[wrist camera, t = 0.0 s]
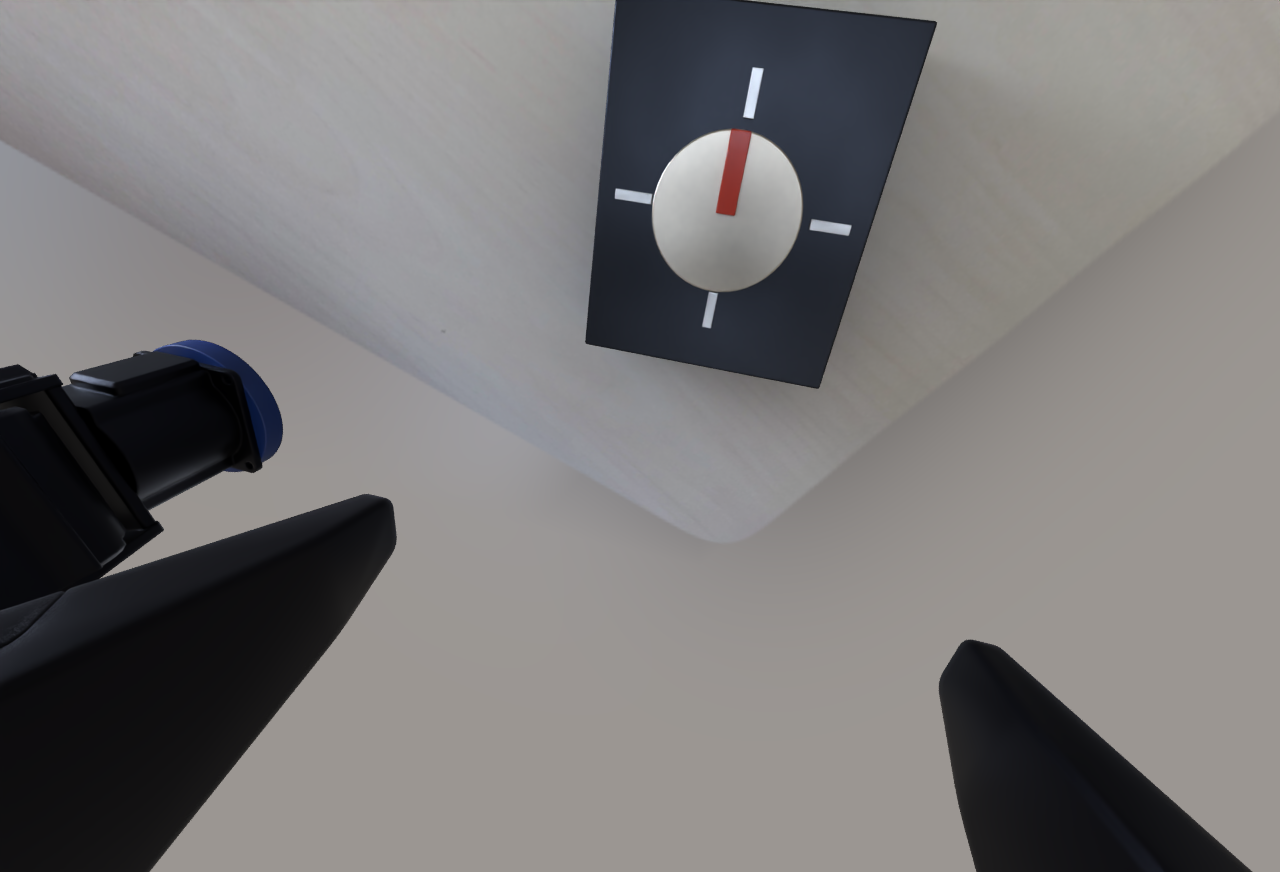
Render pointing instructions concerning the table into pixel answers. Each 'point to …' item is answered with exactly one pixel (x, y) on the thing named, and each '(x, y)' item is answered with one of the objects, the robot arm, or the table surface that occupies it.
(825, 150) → the panel
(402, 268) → the table surface
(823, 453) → the table surface
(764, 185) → the knob
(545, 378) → the table surface
